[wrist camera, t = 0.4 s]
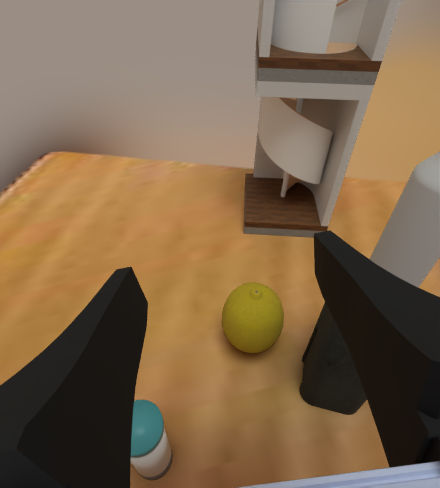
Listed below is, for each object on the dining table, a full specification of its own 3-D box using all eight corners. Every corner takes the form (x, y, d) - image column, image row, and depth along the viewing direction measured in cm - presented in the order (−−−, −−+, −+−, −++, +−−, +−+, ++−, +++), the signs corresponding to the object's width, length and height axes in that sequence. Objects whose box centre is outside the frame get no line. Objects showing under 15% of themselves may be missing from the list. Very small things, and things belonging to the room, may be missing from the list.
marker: (171, 482, 24) (159, 454, 19) (130, 481, 24) (106, 454, 19) (175, 436, 26) (165, 399, 21) (138, 436, 26) (118, 399, 21)
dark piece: (302, 349, 32) (412, 70, 14) (357, 362, 31) (544, 82, 13) (298, 401, 28) (435, 118, 11) (359, 418, 27) (618, 139, 10)
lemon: (228, 372, 30) (231, 326, 24) (216, 321, 34) (216, 271, 28) (285, 361, 31) (301, 313, 25) (267, 312, 35) (277, 262, 29)
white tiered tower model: (245, 184, 52) (273, -169, 27) (312, 188, 51) (403, -168, 27) (243, 233, 44) (282, -208, 19) (324, 238, 43) (469, -208, 19)
